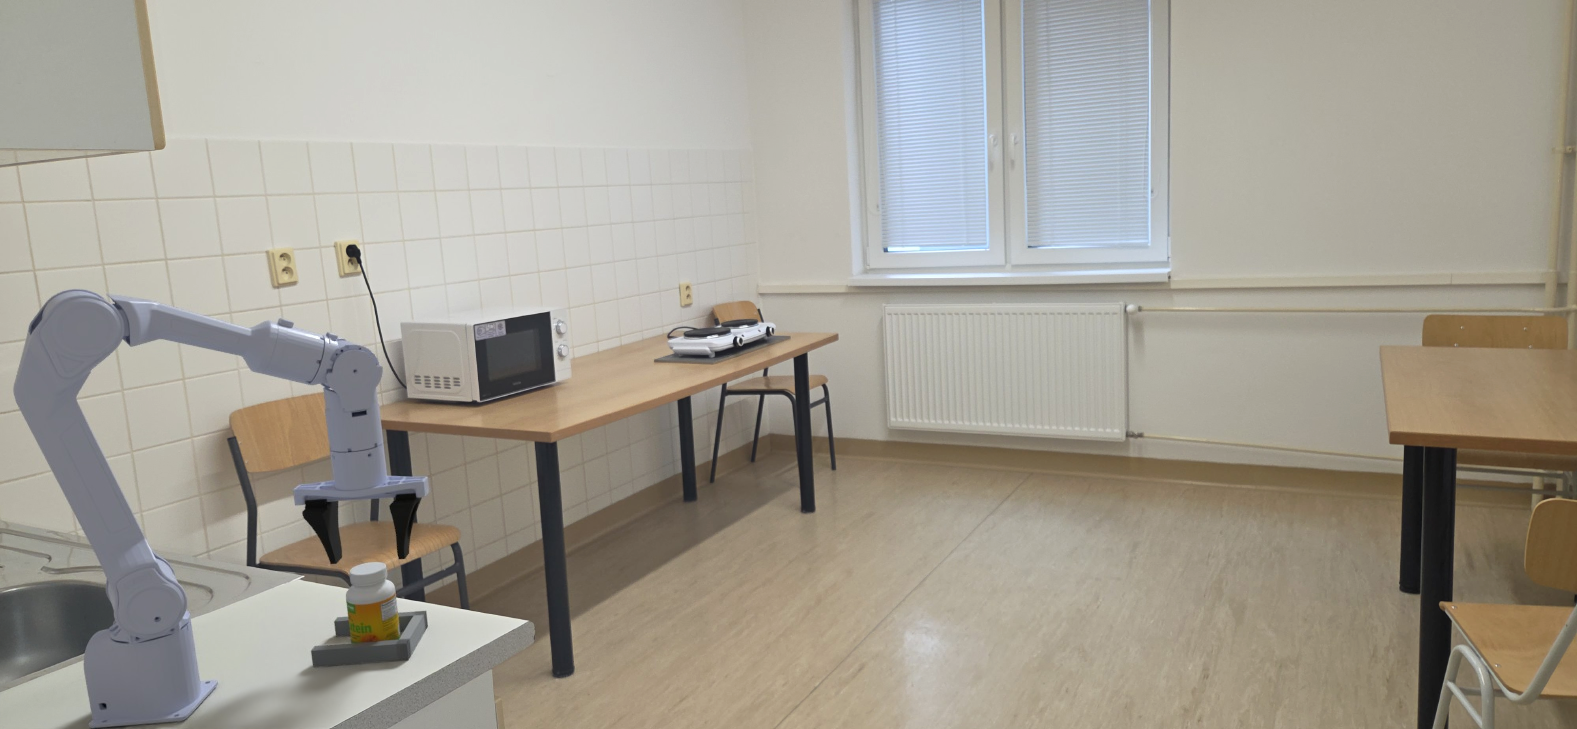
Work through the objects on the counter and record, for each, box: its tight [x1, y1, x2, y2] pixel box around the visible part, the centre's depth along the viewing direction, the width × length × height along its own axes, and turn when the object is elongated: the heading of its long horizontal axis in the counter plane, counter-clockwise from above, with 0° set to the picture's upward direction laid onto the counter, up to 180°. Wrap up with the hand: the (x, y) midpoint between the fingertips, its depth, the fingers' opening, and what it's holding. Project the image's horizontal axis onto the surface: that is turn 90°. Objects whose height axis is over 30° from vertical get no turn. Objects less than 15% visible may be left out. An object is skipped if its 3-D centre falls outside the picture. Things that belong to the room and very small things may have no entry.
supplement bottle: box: [345, 561, 401, 643], centre depth 120 cm, size 5×5×10 cm
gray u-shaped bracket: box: [310, 610, 429, 668], centre depth 121 cm, size 10×9×2 cm
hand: (370, 558), depth 120 cm, fingers open, 7 cm apart
